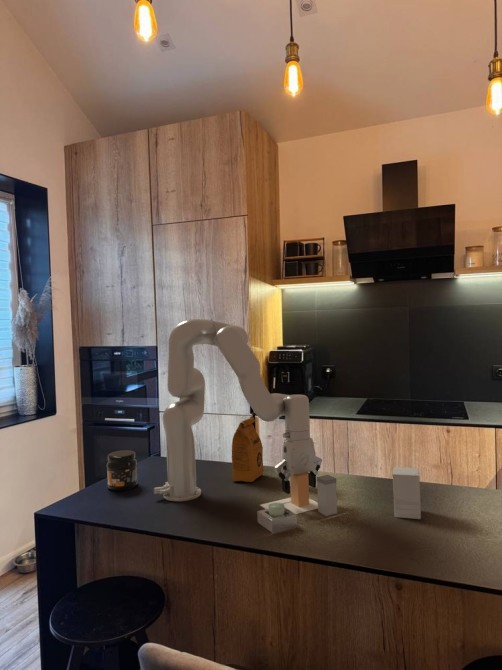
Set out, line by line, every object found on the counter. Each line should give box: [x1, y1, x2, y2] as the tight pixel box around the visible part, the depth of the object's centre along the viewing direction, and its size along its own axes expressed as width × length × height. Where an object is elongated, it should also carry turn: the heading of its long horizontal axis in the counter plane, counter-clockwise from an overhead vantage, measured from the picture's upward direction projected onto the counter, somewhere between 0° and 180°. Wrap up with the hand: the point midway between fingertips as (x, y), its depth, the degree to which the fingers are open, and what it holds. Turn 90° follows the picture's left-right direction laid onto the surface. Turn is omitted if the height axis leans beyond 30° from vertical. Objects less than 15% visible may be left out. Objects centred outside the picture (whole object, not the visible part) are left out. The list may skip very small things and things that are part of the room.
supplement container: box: [106, 449, 138, 492], centre depth 171 cm, size 10×10×12 cm
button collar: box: [256, 507, 298, 534], centre depth 134 cm, size 8×8×4 cm
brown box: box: [290, 472, 310, 507], centre depth 148 cm, size 4×4×11 cm
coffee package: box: [231, 417, 264, 483], centre depth 176 cm, size 10×12×22 cm
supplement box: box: [392, 466, 422, 520], centre depth 138 cm, size 7×7×13 cm
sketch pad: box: [259, 497, 318, 515], centre depth 147 cm, size 16×12×1 cm
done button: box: [269, 503, 285, 518], centre depth 133 cm, size 4×4×4 cm
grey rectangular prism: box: [316, 474, 338, 517], centre depth 141 cm, size 4×4×11 cm
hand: (299, 489), depth 148 cm, fingers open, 9 cm apart
